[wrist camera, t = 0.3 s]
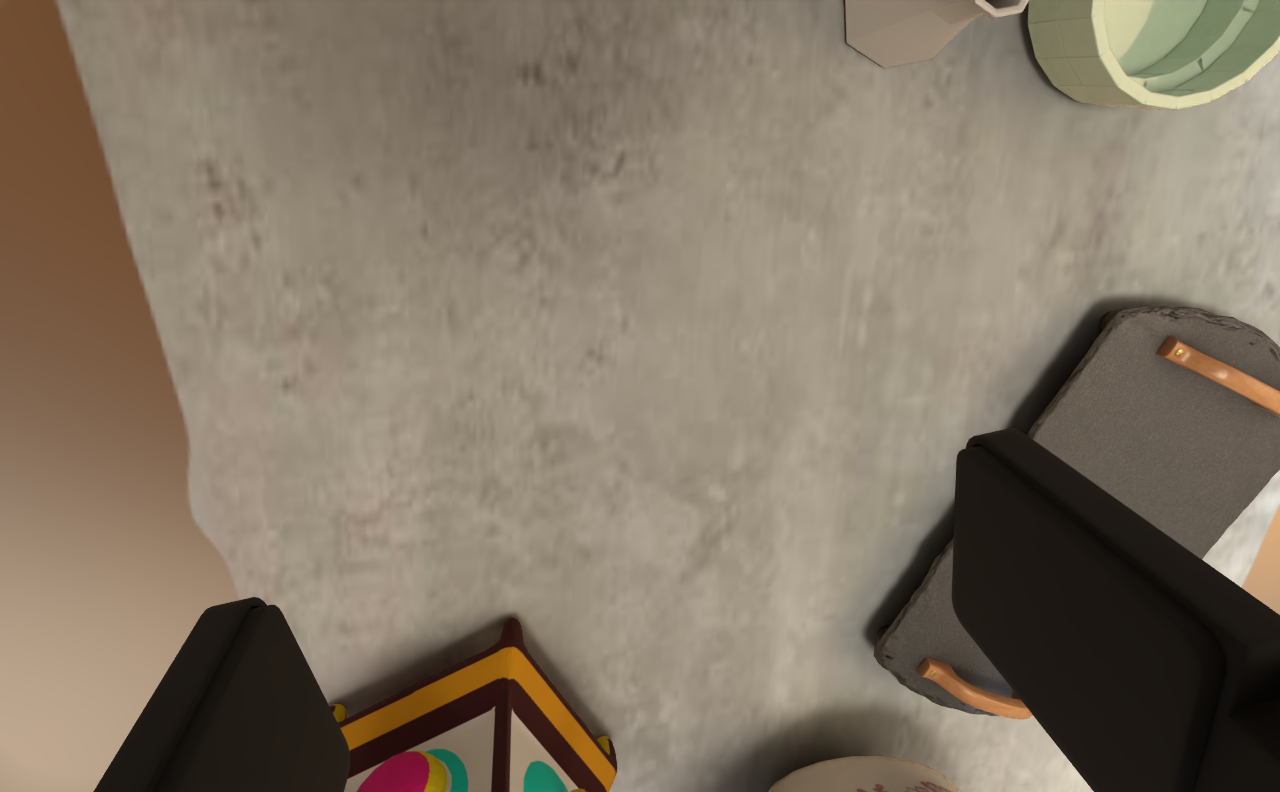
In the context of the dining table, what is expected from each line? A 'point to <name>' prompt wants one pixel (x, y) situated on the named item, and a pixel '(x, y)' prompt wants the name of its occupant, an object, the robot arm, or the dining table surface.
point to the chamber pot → (865, 777)
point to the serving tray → (1123, 468)
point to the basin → (1152, 48)
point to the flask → (914, 25)
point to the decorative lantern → (477, 732)
